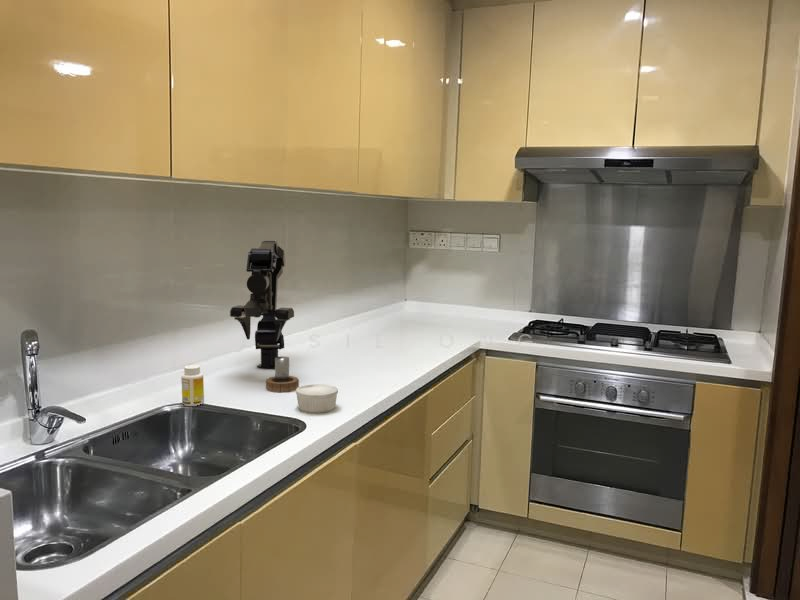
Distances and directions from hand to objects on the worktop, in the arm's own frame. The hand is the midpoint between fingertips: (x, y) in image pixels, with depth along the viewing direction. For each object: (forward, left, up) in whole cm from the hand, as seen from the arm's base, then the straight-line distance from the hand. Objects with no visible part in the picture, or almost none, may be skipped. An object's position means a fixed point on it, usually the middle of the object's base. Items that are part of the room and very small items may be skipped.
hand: (262, 340), depth 203 cm
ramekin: (+25, +26, -12) cm, 38 cm away
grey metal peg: (+9, +10, -12) cm, 18 cm away
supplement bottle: (+30, -7, -12) cm, 33 cm away
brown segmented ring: (+9, +10, -12) cm, 18 cm away
